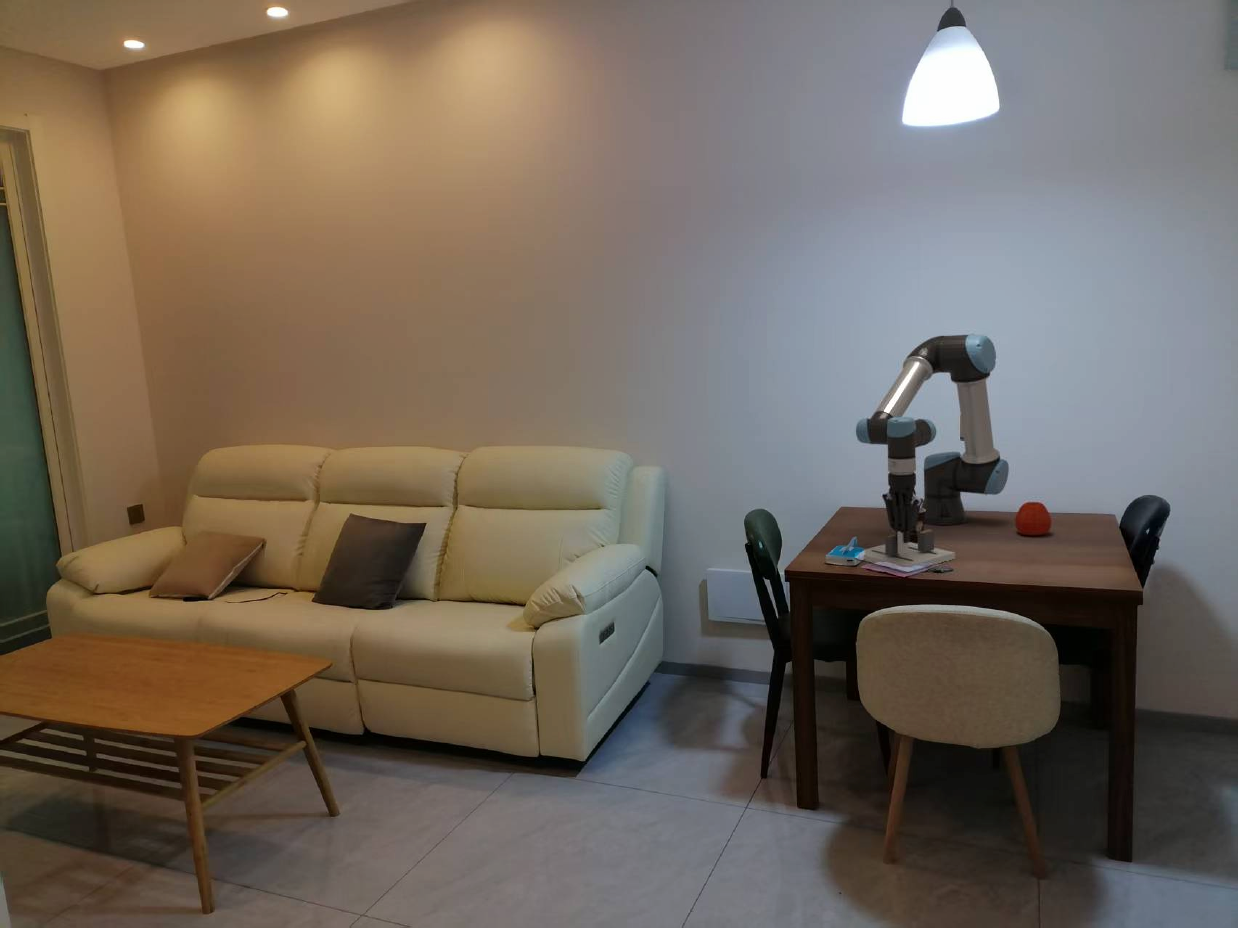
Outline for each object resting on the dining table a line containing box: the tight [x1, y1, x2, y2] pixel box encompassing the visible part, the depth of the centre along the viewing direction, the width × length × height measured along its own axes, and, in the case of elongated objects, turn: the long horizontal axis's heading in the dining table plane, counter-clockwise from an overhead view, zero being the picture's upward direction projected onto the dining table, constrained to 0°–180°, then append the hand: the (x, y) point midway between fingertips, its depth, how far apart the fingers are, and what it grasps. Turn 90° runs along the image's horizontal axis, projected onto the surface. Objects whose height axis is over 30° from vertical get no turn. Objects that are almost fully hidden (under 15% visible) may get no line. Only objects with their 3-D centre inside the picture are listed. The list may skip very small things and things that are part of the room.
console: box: [863, 542, 956, 567], centre depth 258 cm, size 20×20×2 cm
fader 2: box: [917, 529, 935, 552], centre depth 257 cm, size 4×2×6 cm, turn 121°
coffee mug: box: [891, 507, 926, 544], centre depth 277 cm, size 12×9×10 cm
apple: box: [1014, 501, 1052, 536], centre depth 275 cm, size 10×10×10 cm
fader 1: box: [884, 533, 900, 557], centre depth 254 cm, size 4×2×6 cm, turn 121°
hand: (903, 553), depth 252 cm, fingers closed
